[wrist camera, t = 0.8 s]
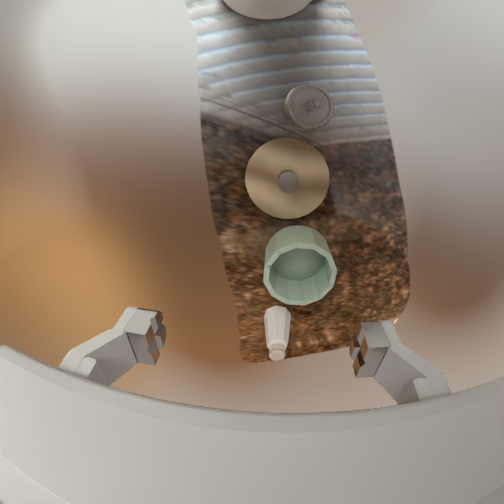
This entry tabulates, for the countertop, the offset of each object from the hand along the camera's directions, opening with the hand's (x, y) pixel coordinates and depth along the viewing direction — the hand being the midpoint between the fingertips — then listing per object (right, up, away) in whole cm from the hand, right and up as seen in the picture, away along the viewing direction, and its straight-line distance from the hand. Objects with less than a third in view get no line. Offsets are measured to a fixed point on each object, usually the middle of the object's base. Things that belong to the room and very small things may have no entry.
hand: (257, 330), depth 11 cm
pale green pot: (+8, +3, +36) cm, 37 cm away
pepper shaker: (+5, -9, +43) cm, 44 cm away
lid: (+5, +15, +31) cm, 34 cm away
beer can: (+7, +24, +25) cm, 36 cm away
